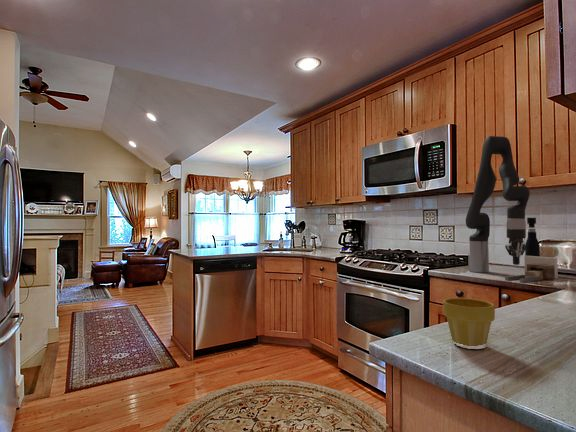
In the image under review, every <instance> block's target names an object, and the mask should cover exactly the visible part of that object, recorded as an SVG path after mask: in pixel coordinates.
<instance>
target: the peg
mask: <svg viewBox="0 0 576 432" xmlns="http://www.w3.org/2000/svg"><path fill="white" fill-rule="evenodd" d="M524 275H525V278H530V277H540V280H539V281H542V280H544V279H543V270H534V271H525V270H524Z"/></svg>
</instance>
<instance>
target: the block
mask: <svg viewBox="0 0 576 432" xmlns="http://www.w3.org/2000/svg"><path fill="white" fill-rule="evenodd" d="M534 270H543V279H542V280H551V279H553V278H554V265H545V264H527V271H534Z"/></svg>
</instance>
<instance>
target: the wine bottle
mask: <svg viewBox="0 0 576 432" xmlns="http://www.w3.org/2000/svg"><path fill="white" fill-rule="evenodd" d="M526 223H527V224H528V229H527V230H528V232H527V239H526V242H525V243H524V244H525V245H527V247H526V249H525V251H524V256H537V257H541V246H540V243H539V240H538V238H537V232H536V230H537V229H536V228H535V226H536V224H537V218H536V217H527V218H526ZM527 224H526V225H527Z"/></svg>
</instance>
